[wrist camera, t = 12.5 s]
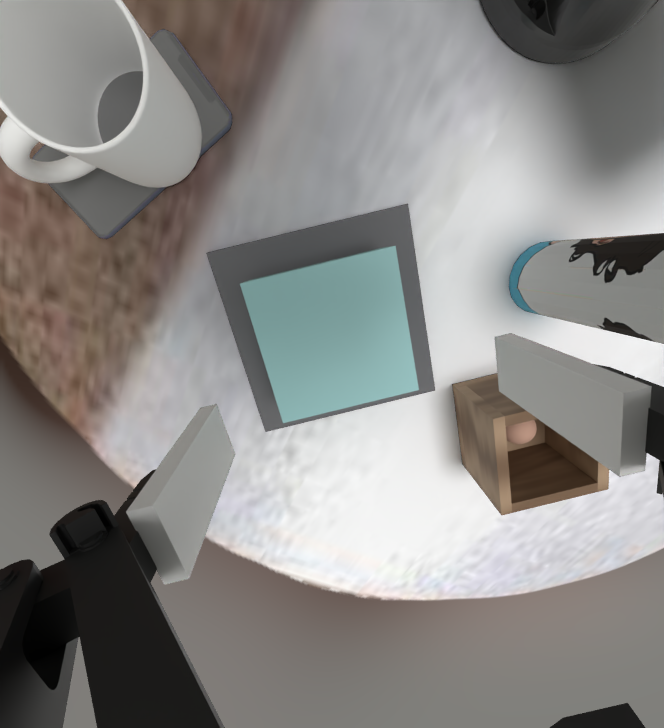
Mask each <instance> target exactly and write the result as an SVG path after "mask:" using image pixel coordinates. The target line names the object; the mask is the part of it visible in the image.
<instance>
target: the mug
mask: <svg viewBox="0 0 664 728" xmlns="http://www.w3.org/2000/svg"><path fill="white" fill-rule="evenodd" d="M133 71H143V87H142V95H141V99H140V103H139V106H138V108H137V111H136V113H135V115H134V117H133V119H132V120H131V122H130V123H129V125H128V126H127V127H126V128H125V129H124V130H123V131H122V132H121V133H120V134H119V135H118V136H117V137H115V138H113V139H112V140H110V141H108V142H106V143H103V142H102V139H101V136H100V133H99V128H98V117H97V115H98V106H99V102H100V99H101V96H102V94H103V92H104V90H105V89H106V87H107V86H108V85H109V84H110V83H111V82H112V81H113V80H114V79H115V78H117V77H118V76H120V75H122V74H125V73H128V72H133ZM0 108H1V109H2V110H3V111H4V112H5V113H6V115H7V118H6V119H5V121H4V122H3V124H2V125H1V128H0V156H1V158H2V159H3V161H4V162H5V164H6V165H7V166H8V167H9V168H10V169H11V170H13V171H14V172H15V173H16V174H18V175H20V176H22V177H24V178H26V179H29V180H32V181H35V182H40V183H61V182H67V181H71V180H74V179H77V178H80V177H82V176H84V175H86V174H88V173H90V172H91V171H93V170H95V169H96V168H100V169H102V170H104V171H106V172H109V173H111V174H113V175H116V176H118V177H120V178H122V179H125V180H127V181H129V182H132V183H135V184H138V185H141V186H145V187H153V188H161V187H168V186H171V185H174V184H176V183H178V182H180V181H182V180H183V179H184V178H185V177H187V176H188V175H189V173H190V172H191V171H192V170H193V168H194V167H195V165H196V163H197V161H198V159H199V155H200V152H201V145H202V131H201V125H200V120H199V117H198V114H197V111H196V108H195V106H194V104H193V102H192V100H191V98H190V97H189V95H188V93H187V91H186V90H185V89H184V87H183V86H182V84H181V83H180V82H179V80H178V79H177V77H176V76H175V75H174V73H173V72H172V70H171V69H170V67H169V66H168V65H167V63H166V62H165V60H164V59H163V58H162V56H161V55H160V53H159V52H158V51H157V49H156V48H155V46H154V45H153V44H152V42H151V41H150V39H149V38H148V37H147V35H146V34H145V32H144V31H143V30H142V28H141V27H140V25H139V24H138V23H137V21H136V20H135V18H134V17H133V15H132V14H131V13H130V11H129V10H128V8H127V7H126V6H125V4H124V3H123V1H122V0H0ZM38 142H41V143H43V144H45V145H47V146H50V147H52V148H54V149H56V150H59V151H61V152H63V153H65V154H68V155H69V156H67V157H65V158H63V159H60V160H57V161H52V162H42V161H36V160H33V159H31V158H29V155H30V152H31V150H32V148H33V147H34V146H35V145H36V144H37V143H38Z"/></svg>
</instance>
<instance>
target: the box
mask: <svg viewBox="0 0 664 728" xmlns="http://www.w3.org/2000/svg"><path fill="white" fill-rule="evenodd" d="M452 386H453V393H454V401H455V409H456V417H457V425H458V432H459V440H460V448H461V456H462V464H463V465H464V467H465V468H466V469H467V471H468V472H469V473H470V475H471V476H472V477H473V479H474V480H475V481H476V482H477V484H478V485H479V486H480V488H481V489H482V490H483V492H484V493H485V494H486V496H487V497H488V498H489V499H490V501H491V502H492V503H493V505H494V506H495V507H496V509H497V510H498V511H499V513H500V514H501V515H505V514H509V513H513V512H517V511H521V510H525V509H530V508H534V507H538V506H542V505H546V504H550V503H554V502H558V501H562V500H566V499H570V498H574V497H578V496H582V495H587V494H591V493H595V492H599V491H603V490H607V489H608V484H609V469H608V468H607V467H605V466H604V465H602V464H601V463H599V462H598V461H597V460H595V459H594V458H592V457H591V456H590V455H588V454H587V453H585V452H584V451H583V450H581V449H580V448H578V447H577V446H576V445H574V444H573V443H571V442H570V441H568V440H567V439H566V438H564V437H563V436H561V435H560V434H559V433H557V432H556V431H554V430H553V429H552V428H550V427H549V426H547V425H546V424H545V423H543V422H542V421H540V420H539V419H537V418H536V417H535V416H533V415H532V414H530V413H529V412H528V411H526V410H525V409H523V408H522V407H521V406H519V405H518V404H516V403H515V402H514V401H512V400H511V399H509V398H508V397H506V396H505V395H504V394H502V393H501V392H499V385H498V373H497V374H493V375H489V376H485V377H481V378H476V379H472V380H468V381H464V382H460V383H456V384H452ZM531 420H534V421H535V423H536V427H537V430H536V434H535V436H534V438H533V439H532V440H530V441H529V442H527V443H524V444H514V443H511V442H509V441H507V438H506V427H507V426H511V425H515V424H519V423H523V422H527V421H531Z"/></svg>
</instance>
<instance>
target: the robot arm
mask: <svg viewBox="0 0 664 728" xmlns="http://www.w3.org/2000/svg"><path fill="white" fill-rule="evenodd" d="M481 2H482V5H483V8H484V10H485V12H486V15H487V17H488V18H489V20H490V22H491V24H492V25H493V27H494V29H495V30H496V31H497V33H498V34H499V35H500V36H501V38H502V39H503V40H504V41H505V42H506V43H507V44H508V45H509V46H510V47H512V48H513V49H514V50H516V51H517V52H519V53H520V54H522V55H524V56H526V57H528V58H530V59H533V60H536V61H539V62H544V63H567V62H572V61H576V60H579V59H582V58H585V57H587V56H589V55H591V54H593V53H595V52H597V51H599V50H600V49H602V48H603V47H605V46H606V45H608V44H609V43H611V42H612V41H613V40H615V39H616V38H618V37H619V36H620V35H622V34H623V33H625V32H626V31H627V30H629V29H630V28H631V27H632V26H634V25H635V24H636V23H637V22H638V21H639V20H640V19H641V18H642V17H644V16H645V15H646V14H647V13H648V12H649V11H650V10H651V8H652V7H653V6H654V5H655V4H656V3H657V2H658V0H481ZM495 347H496V359H497V372H498V385H499V392H501V393H502V394H504V395H505V396H506V397H508V398H509V399H511V400H512V401H514V402H515V403H516V404H518V405H519V406H521V407H522V408H523V409H525V410H526V411H528V412H529V413H530V414H532V415H533V416H535V417H536V418H537V419H539V420H540V421H542V422H543V423H545V424H546V425H547V426H549V427H550V428H552V429H553V430H554V431H556V432H557V433H559V434H560V435H561V436H563V437H564V438H566V439H567V440H568V441H570V442H571V443H573V444H574V445H576V446H577V447H578V448H580V449H581V450H583V451H584V452H585V453H587V454H588V455H590V456H591V457H592V458H594V459H595V460H597V461H598V462H599V463H601V464H602V465H604V466H605V467H607V468H608V469H609V470H611V471H612V472H614V473H615V474H616V475H618V476H619V477H621V476H625V475H630V474H634V473H638V472H642V471H645V466H646V453H648V454H650V455H652V456H653V457H655V458H657V459H659V460H660V463H659V473H658V484H657V493H658V494H662V493H663V496H664V387H662V386H659V385H657V384H654V383H651V382H649V381H646V380H643V379H640V378H638V377H637V378H635V376H632V375H630V374H627V373H623V372H621V371H619V370H616V369H613V368H611V367H606V366H600V365H595V364H591V363H588V362H586V361H583V360H581V359H578V358H575V357H573V356H570V355H567V354H565V353H562V352H560V351H557V350H554V349H552V348H549V347H546V346H544V345H541V344H538V343H536V342H533V341H531V340H528V339H525V338H523V337H520V336H517V335H515V334H512V333H509V334H505V335H501V336H497V337H495ZM234 457H235V452H234V449H233V447H232V444H231V441H230V439H229V436H228V433H227V431H226V428H225V425H224V423H223V420H222V417H221V415H220V412H219V409H218V407H217V404H215V405H211V406H206V407H202V408H200V409H199V411H198V412H197V413H196V415H195V416H194V418H193V419H192V420H191V422H190V423H189V425H188V426H187V427H186V429H185V430H184V432H183V433H182V434H181V436H180V437H179V438H178V440H177V441H176V443H175V444H174V445H173V447H172V448H171V450H170V451H169V452H168V454H167V455H166V457H165V458H164V459H163V461H162V462H161V464H160V465H159V466H158V468H157V469H156V470H152V471H151V472H150V473H149V474H148V475H146V476H145V477H144V478H143V479H142V480H141V481H140V482H139V483H138V485H137V486H136V487H135V489H134V490H133V492H132V493H131V494H130V495H129V497H128V498H127V501H125V502H124V503H123V505H122V506H121V507H120V509H119V510H118V511H117V513H116V514H115V515H113V513H112V512H111V510H110V508H109V506H108V504H107V503H106V502H105V501H103V500H98V501H93V502H89V503H87V504H84V505H82V506H80V507H78V508H76V509H74V510H73V511H71V512H69V513H68V514H66V515H65V516H64V517H63V518H61V519H60V520H59V521H58V522H57V523H56V524H55V525H54V526H53V528H52V529H51V531H50V537H51V538H52V540H53V541H54V543H55V544H56V546H57V547H58V549H59V551H60V552H61V554H62V555H63V557H64V559H65V560H63V561H60V562H58V563H56V564H54V565H51V566H49V567H47V568H45V569H42V570H41V571H39V569H38V568H37V566H36V565H35V563H34V562H33V561H31V560H21V561H19V562H16V563H13V564H11V565H9V566H7V567H5V568H4V569H1V570H0V728H62V727H63V722H64V716H65V711H66V705H67V699H68V694H69V688H70V682H71V677H72V671H73V665H74V659H75V653H76V648H77V642H78V637H80V640H81V646H82V651H83V656H84V661H85V666H86V672H87V677H88V682H89V687H90V692H91V697H92V703H93V708H94V713H95V718H96V723H97V728H225V727H224V726H223V724H222V722H221V720H220V718H219V716H218V714H217V712H216V710H215V708H214V706H213V704H212V702H211V700H210V698H209V696H208V694H207V692H206V690H205V688H204V686H203V684H202V683H201V680H200V678H199V677H198V675H197V673H196V671H195V669H194V667H193V665H192V663H191V661H190V659H189V657H188V655H187V653H186V651H185V649H184V647H183V645H182V643H181V641H180V640H179V637H178V636H177V634H176V632H175V630H174V628H173V626H172V624H171V622H170V620H169V618H168V616H167V614H166V612H165V610H164V608H163V606H162V604H161V602H160V600H159V598H158V596H157V594H156V592H155V591H154V589H153V587H152V585H151V583H150V582H151V580H152V578H153V576H154V574H155V572H156V570H157V572H158V574H159V575H160V577H161V579H162V581H163V583H164V584H169V583H173V582H177V581H181V580H185V579H189V578H190V575H191V572H192V569H193V567H194V564H195V561H196V559H197V556H198V553H199V551H200V548H201V545H202V543H203V540H204V537H205V535H206V532H207V529H208V526H209V524H210V521H211V518H212V516H213V513H214V510H215V508H216V505H217V502H218V500H219V497H220V494H221V492H222V489H223V486H224V483H225V481H226V478H227V475H228V473H229V470H230V467H231V465H232V462H233V459H234ZM550 728H645V727H644V725H643V724H642V722H641V721H640V720H639V718H638V717H637V715H636V714H635V713H634V711H633V710H632V708H631V707H630V706H629V704H628V703H625V704H621V705H617V706H612V707H608V708H603V709H599V710H595V711H591V712H586V713H582V714H577V715H574V716H569V717H565V718H562V719H561V720H560V721H558V722H557V723H556V724H554V725H553V726H551V727H550Z"/></svg>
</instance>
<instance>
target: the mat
mask: <svg viewBox="0 0 664 728" xmlns="http://www.w3.org/2000/svg"><path fill="white" fill-rule="evenodd" d="M390 246H396V252H397V258H398V264H399V271H400V277H401V283H402V289H403V295H404V301H405V307H406V314H407V320H408V326H409V332H410V338H411V344H412V350H413V357H414V363H415V369H416V375H417V381H418V387H419V390H417V391H413V392H409V393H405V394H401V395H397V396H393V397H388V398H384V399H380V400H376V401H372V402H368V403H364V404H360V405H356V406H352V407H348V408H344V409H339V410H335V411H331V412H327V413H323V414H319V415H315V416H311V417H307V418H303V419H299V420H295V421H290V422H286V423H283V421H282V418H281V415H280V412H279V408H278V405H277V402H276V399H275V396H274V392H273V389H272V386H271V383H270V379H269V376H268V373H267V370H266V367H265V363H264V360H263V357H262V354H261V350H260V347H259V344H258V341H257V338H256V334H255V331H254V328H253V325H252V321H251V318H250V315H249V312H248V309H247V305H246V302H245V299H244V296H243V292H242V289H241V286H240V283H243V282H246V281H248V280H252V279H256V278H261V277H265V276H269V275H273V274H277V273H281V272H285V271H289V270H293V269H297V268H301V267H306V266H310V265H314V264H318V263H322V262H326V261H330V260H334V259H338V258H342V257H347V256H351V255H355V254H359V253H363V252H367V251H371V250H375V249H379V248H383V247H390ZM207 256H208V259H209V262H210V265H211V268H212V271H213V274H214V277H215V280H216V283H217V286H218V289H219V292H220V295H221V298H222V301H223V304H224V307H225V310H226V313H227V316H228V319H229V322H230V325H231V328H232V331H233V334H234V337H235V340H236V343H237V346H238V350H239V353H240V356H241V359H242V362H243V365H244V368H245V371H246V374H247V377H248V380H249V383H250V386H251V389H252V392H253V395H254V398H255V401H256V404H257V407H258V410H259V413H260V416H261V419H262V422H263V425H264V428H265V431H266V432H267V431H271V430H275V429H279V428H284V427H288V426H292V425H296V424H300V423H304V422H308V421H312V420H316V419H320V418H324V417H328V416H333V415H337V414H341V413H345V412H349V411H353V410H357V409H361V408H365V407H369V406H373V405H378V404H382V403H386V402H390V401H394V400H398V399H402V398H406V397H410V396H414V395H418V394H422V393H427V392H431V391H435V386H434V379H433V372H432V365H431V359H430V352H429V345H428V338H427V331H426V324H425V318H424V311H423V304H422V297H421V290H420V283H419V276H418V270H417V263H416V256H415V249H414V242H413V235H412V229H411V222H410V215H409V208H408V204H405V205H401V206H397V207H393V208H388V209H384V210H380V211H376V212H372V213H368V214H364V215H360V216H356V217H352V218H347V219H343V220H339V221H335V222H331V223H327V224H323V225H319V226H315V227H311V228H306V229H302V230H298V231H294V232H290V233H286V234H282V235H278V236H274V237H270V238H265V239H261V240H257V241H253V242H249V243H245V244H241V245H237V246H233V247H229V248H224V249H220V250H216V251H212V252H208V253H207Z"/></svg>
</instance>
